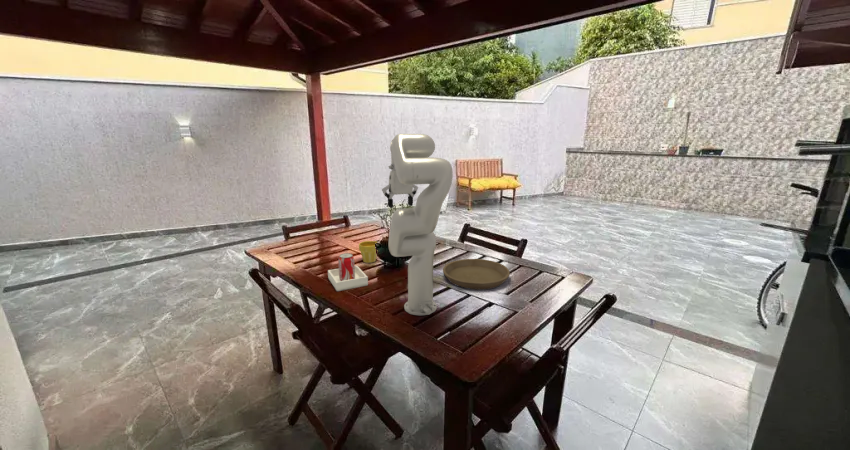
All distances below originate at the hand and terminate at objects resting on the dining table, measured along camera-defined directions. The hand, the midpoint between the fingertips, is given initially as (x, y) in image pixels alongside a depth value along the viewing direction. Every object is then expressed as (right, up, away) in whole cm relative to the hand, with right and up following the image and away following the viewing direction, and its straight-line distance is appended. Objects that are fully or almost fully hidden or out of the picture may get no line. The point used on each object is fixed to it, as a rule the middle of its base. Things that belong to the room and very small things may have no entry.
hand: (400, 206), depth 157 cm
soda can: (-25, -34, +3) cm, 42 cm away
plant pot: (-19, -28, +31) cm, 45 cm away
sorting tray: (-24, -34, +4) cm, 42 cm away
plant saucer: (+35, -34, +9) cm, 49 cm away
